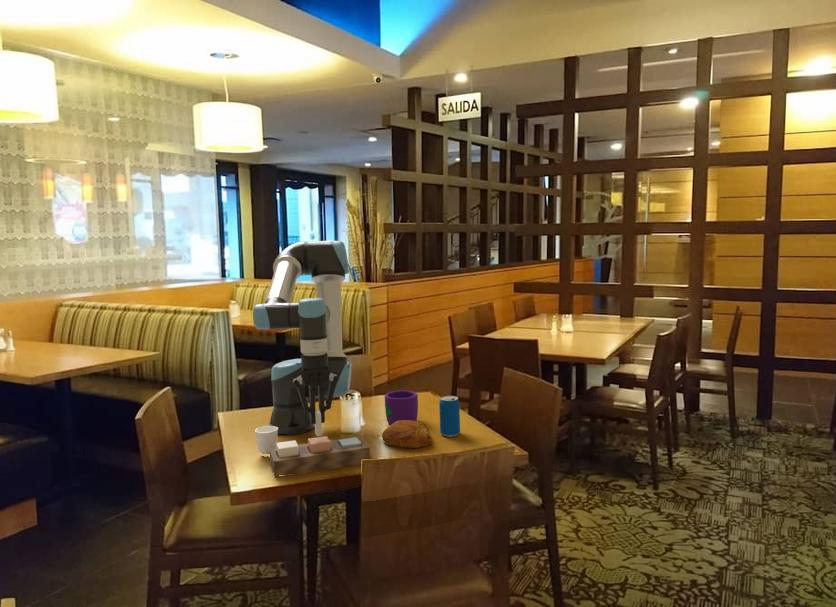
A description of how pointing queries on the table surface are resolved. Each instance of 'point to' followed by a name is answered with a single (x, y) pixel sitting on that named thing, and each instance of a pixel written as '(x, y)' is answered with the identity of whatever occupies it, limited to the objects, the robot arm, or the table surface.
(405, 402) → the mug
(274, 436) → the cup
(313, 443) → the terracotta key
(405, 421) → the pastry
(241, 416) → the table surface
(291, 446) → the ivory key
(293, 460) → the key block
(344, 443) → the slate key
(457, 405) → the beverage can
